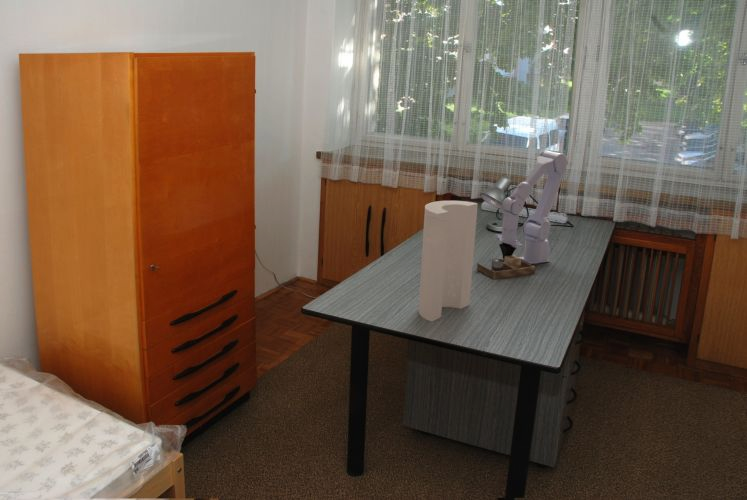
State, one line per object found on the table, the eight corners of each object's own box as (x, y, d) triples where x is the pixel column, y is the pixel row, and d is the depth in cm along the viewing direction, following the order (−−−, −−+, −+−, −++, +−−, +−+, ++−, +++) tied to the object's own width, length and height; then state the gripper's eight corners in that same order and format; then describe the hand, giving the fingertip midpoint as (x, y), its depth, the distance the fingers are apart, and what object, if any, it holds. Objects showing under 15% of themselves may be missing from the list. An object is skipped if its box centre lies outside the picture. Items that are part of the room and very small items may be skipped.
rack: (516, 264, 290) (517, 258, 290) (534, 273, 281) (535, 266, 280) (476, 269, 282) (477, 263, 282) (494, 278, 273) (494, 272, 272)
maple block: (513, 265, 288) (514, 254, 287) (520, 269, 284) (521, 258, 283) (503, 267, 286) (504, 256, 285) (510, 270, 282) (511, 259, 281)
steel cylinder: (497, 270, 282) (499, 258, 281) (504, 274, 278) (505, 261, 277) (488, 271, 280) (489, 259, 279) (495, 275, 277) (496, 262, 275)
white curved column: (471, 305, 246) (433, 322, 231) (444, 296, 253) (405, 312, 238) (480, 203, 235) (440, 214, 220) (451, 197, 243) (411, 207, 227)
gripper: (490, 224, 288) (487, 257, 292) (512, 234, 276) (509, 268, 280) (505, 223, 291) (501, 255, 295) (527, 232, 279) (524, 266, 283)
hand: (506, 262), depth 288 cm, fingers closed
